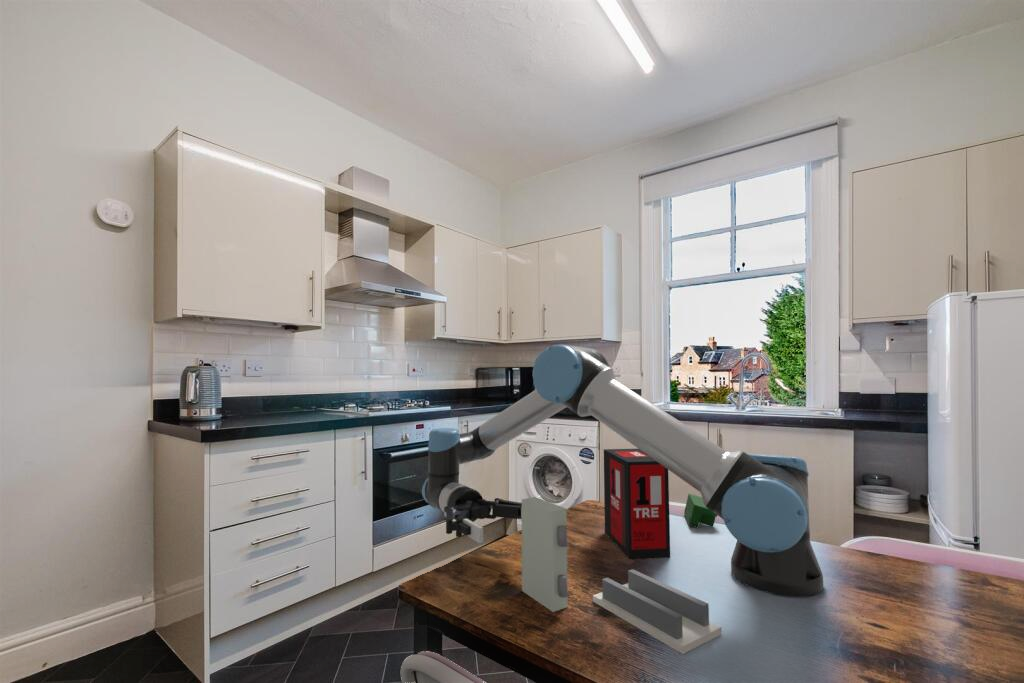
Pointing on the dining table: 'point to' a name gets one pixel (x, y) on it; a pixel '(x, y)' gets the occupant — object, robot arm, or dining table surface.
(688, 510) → the clamp
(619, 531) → the cleaning product box
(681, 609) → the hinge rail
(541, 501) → the door
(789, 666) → the dining table surface
